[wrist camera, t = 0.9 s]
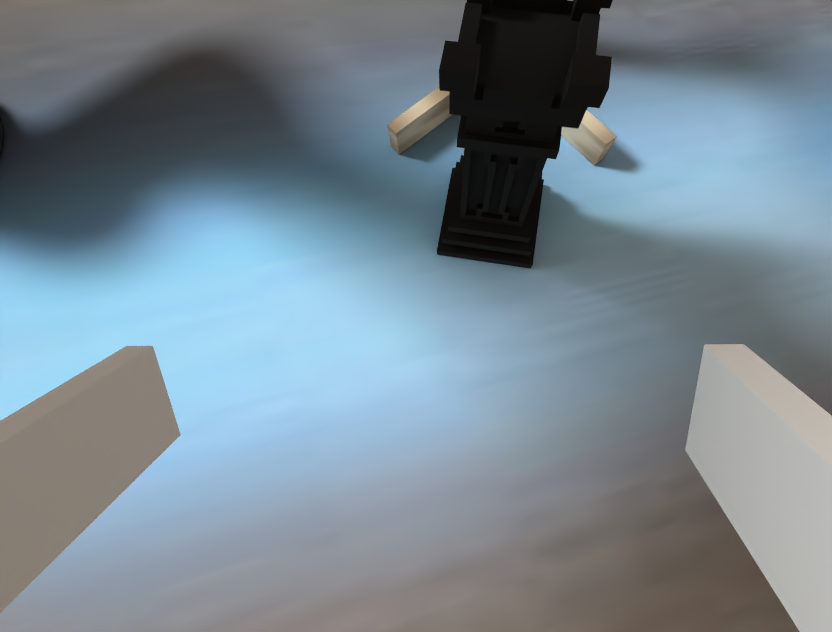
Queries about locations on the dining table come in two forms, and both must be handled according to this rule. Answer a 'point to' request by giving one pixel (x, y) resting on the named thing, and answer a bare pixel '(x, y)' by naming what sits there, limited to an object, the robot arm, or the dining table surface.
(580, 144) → the centring cradle
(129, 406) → the robot arm
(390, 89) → the dining table surface
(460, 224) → the chess piece
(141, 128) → the dining table surface
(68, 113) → the dining table surface
